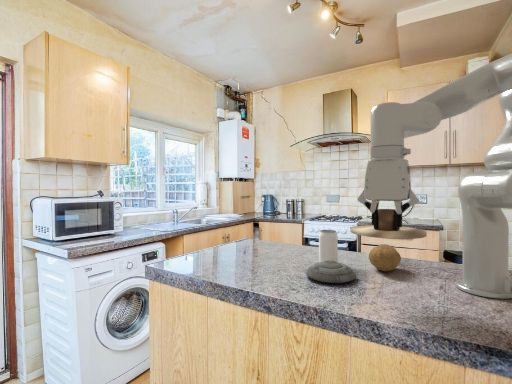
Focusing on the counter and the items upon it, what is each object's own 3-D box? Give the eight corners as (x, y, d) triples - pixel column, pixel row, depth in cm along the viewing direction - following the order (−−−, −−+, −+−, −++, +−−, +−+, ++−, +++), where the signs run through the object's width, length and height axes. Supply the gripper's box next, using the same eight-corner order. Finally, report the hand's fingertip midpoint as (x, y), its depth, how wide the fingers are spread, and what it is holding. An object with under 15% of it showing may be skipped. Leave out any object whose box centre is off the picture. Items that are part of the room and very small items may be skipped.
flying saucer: (310, 287, 81) (310, 267, 81) (302, 271, 96) (302, 255, 96) (364, 286, 81) (364, 267, 81) (347, 271, 96) (347, 254, 96)
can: (339, 266, 100) (339, 232, 100) (321, 266, 100) (320, 232, 100) (335, 261, 107) (334, 229, 107) (317, 261, 107) (317, 229, 107)
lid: (429, 231, 74) (429, 208, 73) (423, 241, 60) (423, 213, 59) (360, 226, 83) (360, 206, 83) (341, 234, 69) (341, 210, 69)
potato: (365, 273, 92) (365, 248, 92) (371, 263, 104) (371, 241, 104) (399, 278, 87) (399, 252, 87) (401, 267, 99) (401, 244, 99)
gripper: (428, 154, 69) (427, 230, 69) (357, 158, 79) (357, 225, 79) (423, 150, 63) (423, 234, 63) (347, 156, 73) (347, 228, 73)
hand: (386, 228), depth 71 cm, fingers closed on lid, 4 cm apart
